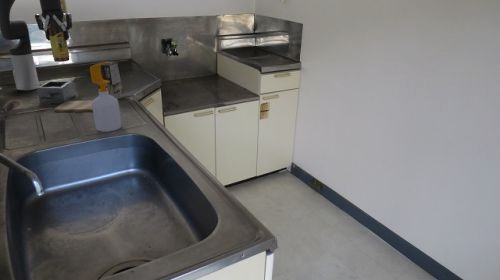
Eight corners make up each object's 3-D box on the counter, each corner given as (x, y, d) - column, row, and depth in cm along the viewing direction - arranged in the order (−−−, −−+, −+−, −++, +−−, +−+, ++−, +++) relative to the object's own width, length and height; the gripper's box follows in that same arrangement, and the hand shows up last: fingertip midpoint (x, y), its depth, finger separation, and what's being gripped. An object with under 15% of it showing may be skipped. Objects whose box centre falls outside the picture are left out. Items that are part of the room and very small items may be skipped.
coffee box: (124, 96, 180) (119, 62, 173) (114, 100, 174) (109, 65, 168) (109, 94, 183) (104, 60, 177) (99, 98, 178) (94, 63, 171)
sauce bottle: (63, 62, 158) (53, 12, 151) (50, 62, 160) (40, 12, 152) (73, 59, 164) (64, 11, 157) (60, 59, 166) (51, 11, 158)
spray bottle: (107, 134, 138) (96, 66, 128) (91, 129, 142) (79, 63, 132) (126, 126, 145) (118, 61, 135) (110, 121, 149) (101, 58, 139)
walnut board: (54, 111, 160) (54, 109, 159) (66, 102, 171) (65, 100, 170) (93, 111, 160) (93, 109, 160) (102, 102, 171) (102, 100, 171)
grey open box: (36, 105, 167) (32, 90, 164) (51, 95, 181) (48, 81, 178) (61, 105, 167) (58, 90, 165) (75, 95, 182) (72, 80, 179)
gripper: (71, -4, 156) (79, 38, 162) (35, -3, 156) (44, 39, 162) (63, -3, 149) (72, 41, 155) (26, -2, 149) (36, 42, 155)
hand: (58, 40), depth 159 cm, fingers closed on sauce bottle, 6 cm apart
